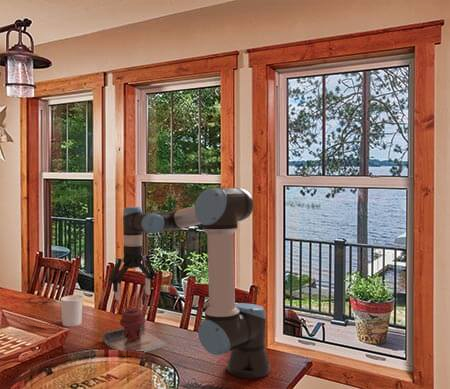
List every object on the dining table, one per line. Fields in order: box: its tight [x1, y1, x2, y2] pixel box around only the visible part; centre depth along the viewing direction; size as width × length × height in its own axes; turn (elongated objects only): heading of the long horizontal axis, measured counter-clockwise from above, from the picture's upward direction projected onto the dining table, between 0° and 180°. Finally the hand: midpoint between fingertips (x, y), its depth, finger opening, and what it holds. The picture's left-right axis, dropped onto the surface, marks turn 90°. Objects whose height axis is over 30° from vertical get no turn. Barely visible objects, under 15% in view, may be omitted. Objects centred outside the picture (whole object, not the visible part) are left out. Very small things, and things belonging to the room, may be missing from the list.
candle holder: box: [60, 294, 84, 327], centre depth 204 cm, size 10×10×12 cm
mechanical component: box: [119, 307, 146, 342], centre depth 181 cm, size 12×10×10 cm
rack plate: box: [102, 323, 167, 353], centre depth 180 cm, size 20×18×4 cm
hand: (132, 296), depth 180 cm, fingers open, 13 cm apart
